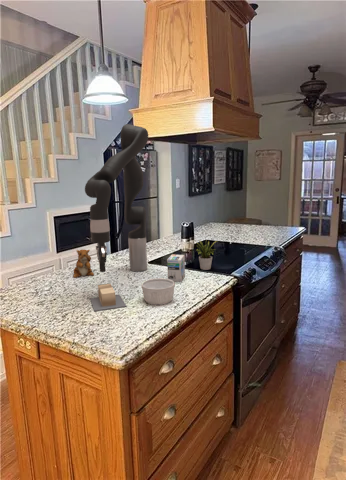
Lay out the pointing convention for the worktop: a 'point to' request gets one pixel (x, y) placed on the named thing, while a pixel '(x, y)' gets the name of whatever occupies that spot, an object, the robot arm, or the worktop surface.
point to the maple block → (106, 294)
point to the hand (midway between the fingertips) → (102, 271)
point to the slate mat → (98, 306)
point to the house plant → (205, 255)
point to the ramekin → (158, 290)
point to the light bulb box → (176, 267)
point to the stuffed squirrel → (83, 264)
